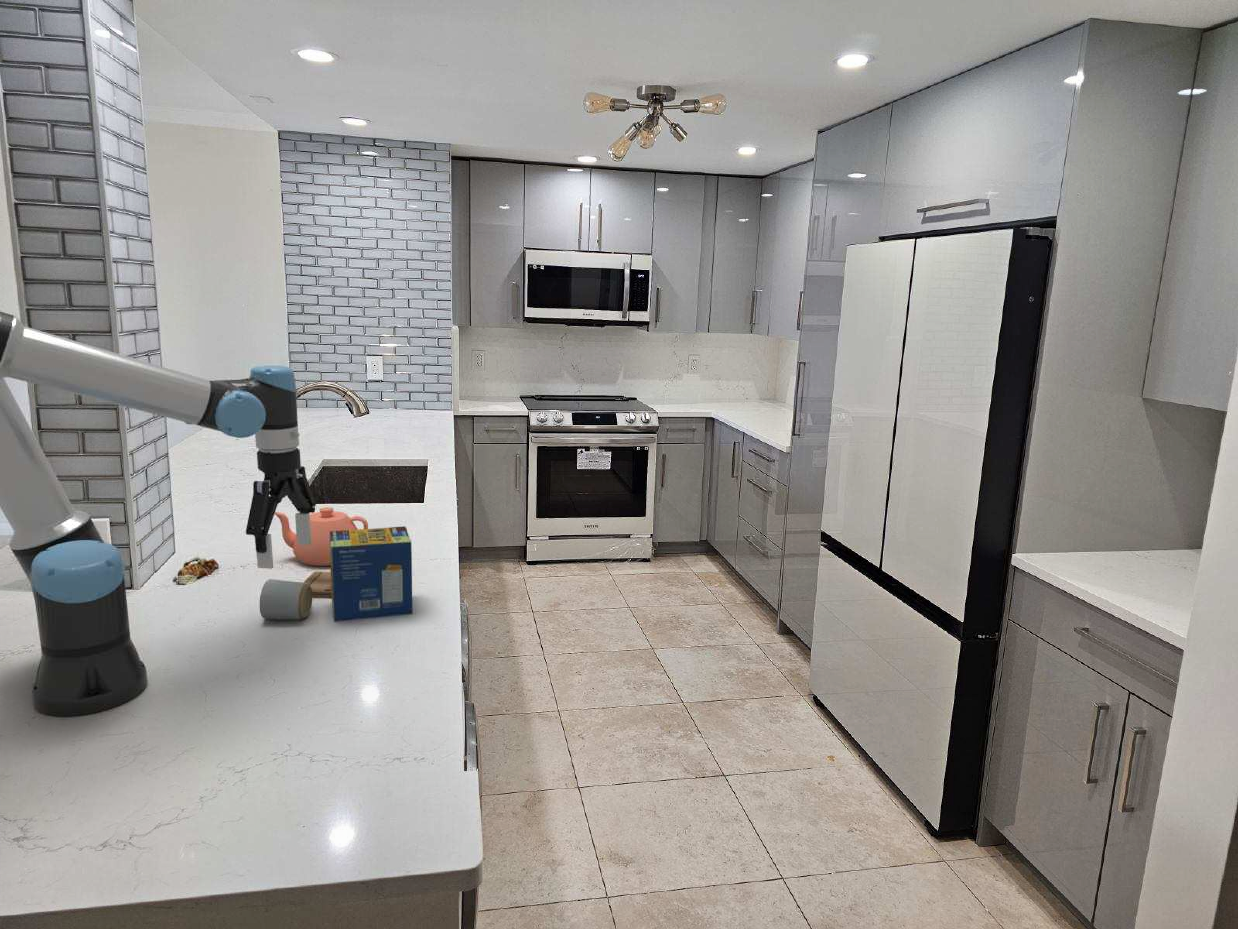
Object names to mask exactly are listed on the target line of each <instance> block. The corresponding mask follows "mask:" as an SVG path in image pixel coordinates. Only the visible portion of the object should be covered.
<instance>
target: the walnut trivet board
mask: <svg viewBox="0 0 1238 929" xmlns="http://www.w3.org/2000/svg"><path fill="white" fill-rule="evenodd" d="M302 583H306V584H308V585H310V587H311V589H312V596H313V597H312V599H314V598H316V599H317V598H318V599H319V598H320V599H321V598H322V599H332V591H331V571H313V572H312V573H311V574H310V575H309V576H308V577H307V578H306V579H305V580H304V581H303V582H302Z"/></svg>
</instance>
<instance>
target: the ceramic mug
mask: <svg viewBox="0 0 1238 929" xmlns="http://www.w3.org/2000/svg"><path fill="white" fill-rule="evenodd" d="M312 597H313V596H312V589H311V587H310V585H308V584H306V583H303V582H301V581H289V580H284V579H283V580H282V579H273V578H272V579H271V578H269V579H267V580H266V581H265V582H264V584H263V586H262V587H261V592H260V597H259V613H260V616H261V617H262V619H264V620H295V621H296V620H297V621H298V620H302V619H306V618H307V617H308V615H309V614H310V611H311V609H312V604H313V598H312Z"/></svg>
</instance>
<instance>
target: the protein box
mask: <svg viewBox="0 0 1238 929" xmlns="http://www.w3.org/2000/svg"><path fill="white" fill-rule="evenodd" d="M357 529H358V528H357ZM412 548H413V547H412V540H411V538H410V535H409V532H408V529H407V527H406V526H402V525H401V526H393V527H391V526H390V527H378V528H368V529H364V528H360V529H358V530H344V531H330V572H331V591H332V598H331V606H332V607H331V608H332V619H333V621H334V622H339V621H341V622H342V621H349V620H361V619H362V620H363V619H370V618H373V619H374V618H381V617H390V616H391V617H392V616H400V615H402V616H403V615H410V614H413V561H412V560H413V559H412V558H413V557H412V556H413V554H412V553H413V552H412V551H413V550H412Z"/></svg>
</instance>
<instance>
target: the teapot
mask: <svg viewBox="0 0 1238 929" xmlns="http://www.w3.org/2000/svg"><path fill="white" fill-rule="evenodd" d="M334 509H335V508H333V507H329V506H324V507H320V508H319V511H317V512H314V513H310V528H311V545H310V546H309V545H297V535H296V532H293V531H292V529H291V528H290V521H289V518H288V516H287V515H286V514H285V513H283V512H279V511H275V514H274V516H276V517H277V518H278V519H279V521H280V524H281V534H282V538H283V539H282V540H284V543H285V544H286V545H287V546H288V547H289V548H291V549H292V553H293V554H294V556H295V557H296V558H297V559H298V560H299V561H300V562H301V563H303V564H305V565H309V566H315V567H320V566H321V567H324V566H325V567H326V566H330V531H344V530H358V527H357V525H356V524H355V523H354V522H356V521H358V522H361V523H362V524H363V529H369V523H368V521H367V520H366V519H365V518H364V517H362V516H360V515H359V516H358V515H355V516H352V517H350V516H349V515H348V514H347V513H345V512H341V511H335V510H334Z"/></svg>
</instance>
